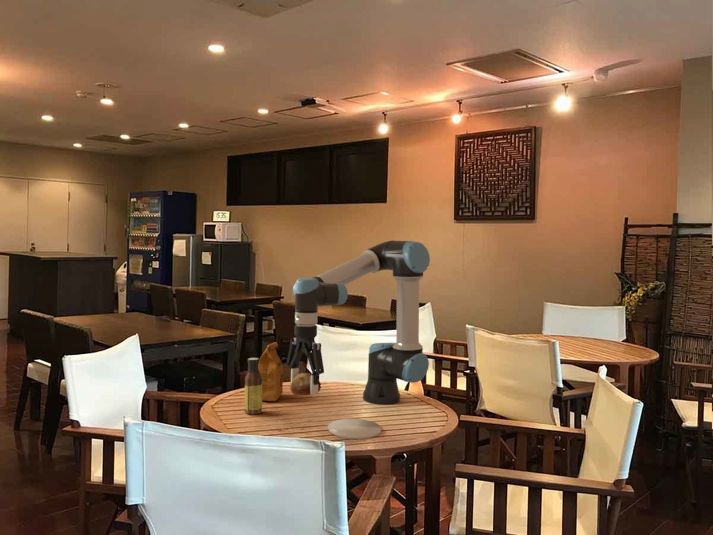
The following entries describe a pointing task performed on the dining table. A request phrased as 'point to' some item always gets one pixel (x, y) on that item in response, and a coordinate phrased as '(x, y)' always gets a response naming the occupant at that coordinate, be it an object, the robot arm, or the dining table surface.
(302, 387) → the bread roll
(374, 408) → the dining table surface
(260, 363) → the coffee package
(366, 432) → the plate
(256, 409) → the sauce bottle
